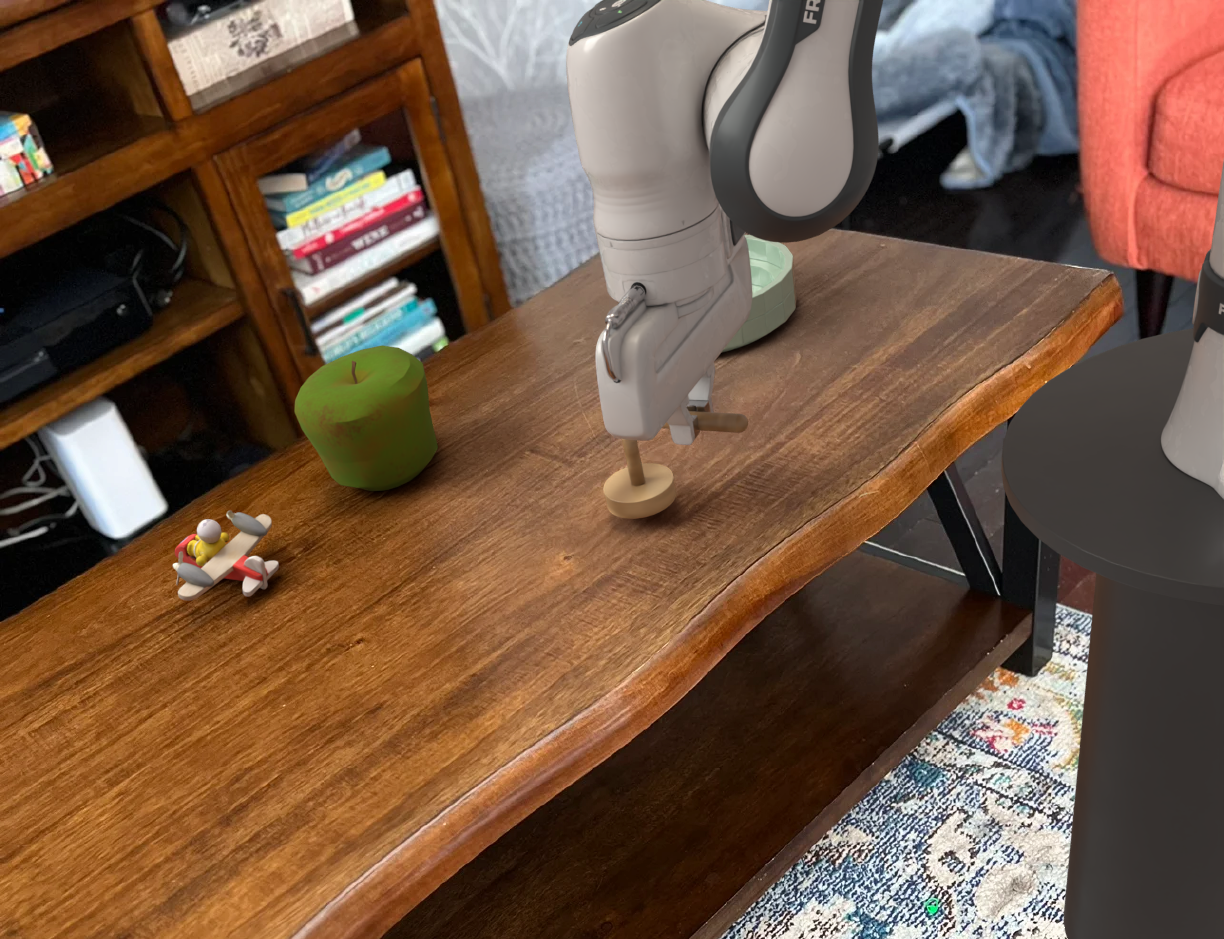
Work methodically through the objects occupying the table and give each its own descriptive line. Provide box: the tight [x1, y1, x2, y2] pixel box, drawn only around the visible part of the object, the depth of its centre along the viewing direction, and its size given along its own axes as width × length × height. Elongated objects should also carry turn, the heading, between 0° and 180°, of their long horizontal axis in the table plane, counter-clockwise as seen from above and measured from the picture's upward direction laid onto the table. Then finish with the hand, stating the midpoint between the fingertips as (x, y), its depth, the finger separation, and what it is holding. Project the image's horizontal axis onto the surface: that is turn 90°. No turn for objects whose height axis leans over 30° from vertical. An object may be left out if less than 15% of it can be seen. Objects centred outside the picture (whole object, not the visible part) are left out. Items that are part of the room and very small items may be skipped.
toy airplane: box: [172, 510, 280, 602], centre depth 110 cm, size 9×9×6 cm
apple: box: [294, 344, 439, 492], centre depth 117 cm, size 12×12×11 cm
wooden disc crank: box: [602, 411, 749, 520], centre depth 102 cm, size 14×6×8 cm, turn 64°
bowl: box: [721, 234, 798, 353], centre depth 129 cm, size 18×18×5 cm
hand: (694, 430), depth 100 cm, fingers closed on wooden disc crank
